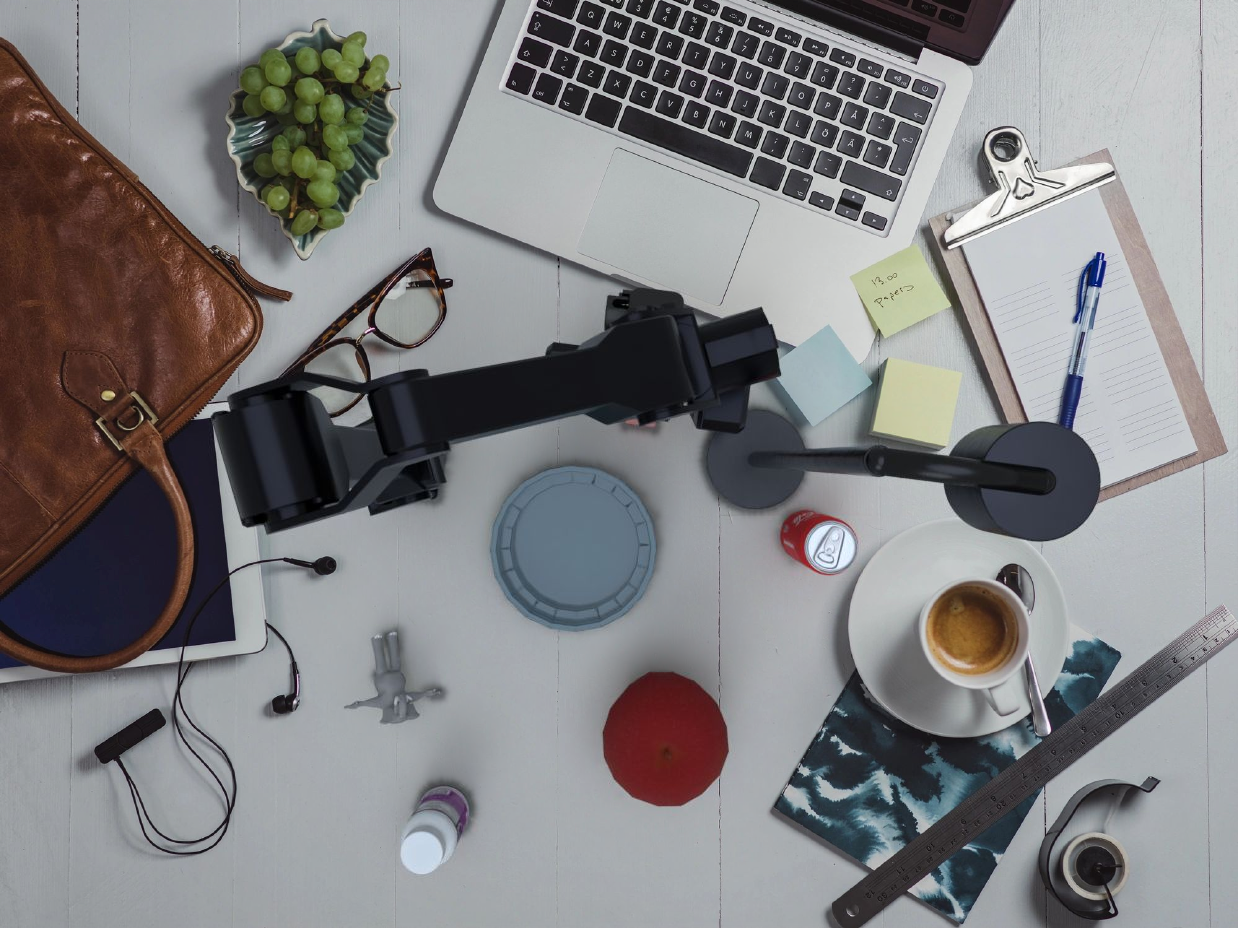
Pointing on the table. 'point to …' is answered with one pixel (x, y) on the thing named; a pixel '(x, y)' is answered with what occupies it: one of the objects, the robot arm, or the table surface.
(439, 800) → the pill bottle
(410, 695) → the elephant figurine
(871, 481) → the table surface
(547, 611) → the bowl
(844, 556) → the beverage can
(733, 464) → the desk lamp
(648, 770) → the apple
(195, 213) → the table surface
